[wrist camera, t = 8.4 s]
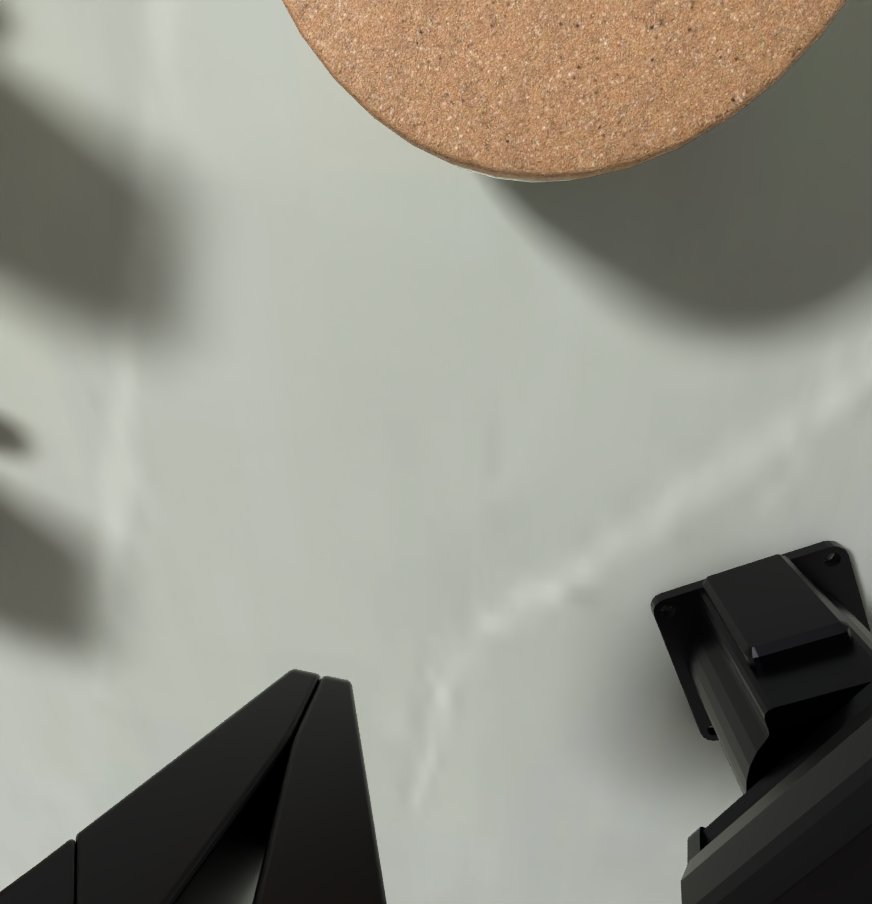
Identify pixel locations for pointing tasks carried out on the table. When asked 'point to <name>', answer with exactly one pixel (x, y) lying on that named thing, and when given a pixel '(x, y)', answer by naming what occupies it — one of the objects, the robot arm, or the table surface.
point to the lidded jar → (556, 73)
